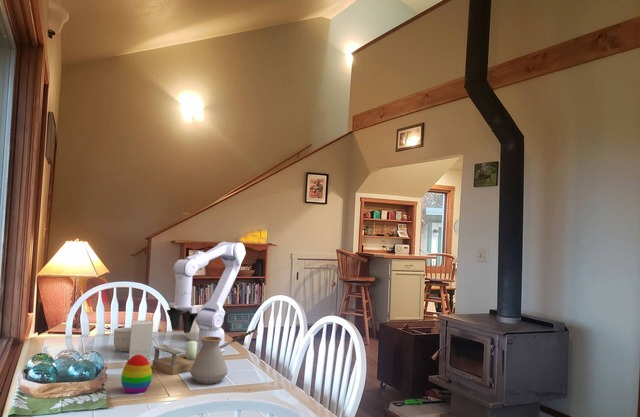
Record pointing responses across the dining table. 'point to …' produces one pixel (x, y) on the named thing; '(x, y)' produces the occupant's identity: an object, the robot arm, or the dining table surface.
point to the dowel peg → (191, 350)
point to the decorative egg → (136, 374)
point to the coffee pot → (212, 360)
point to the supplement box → (141, 338)
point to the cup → (194, 328)
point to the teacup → (122, 338)
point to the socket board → (172, 360)
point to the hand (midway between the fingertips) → (180, 330)
